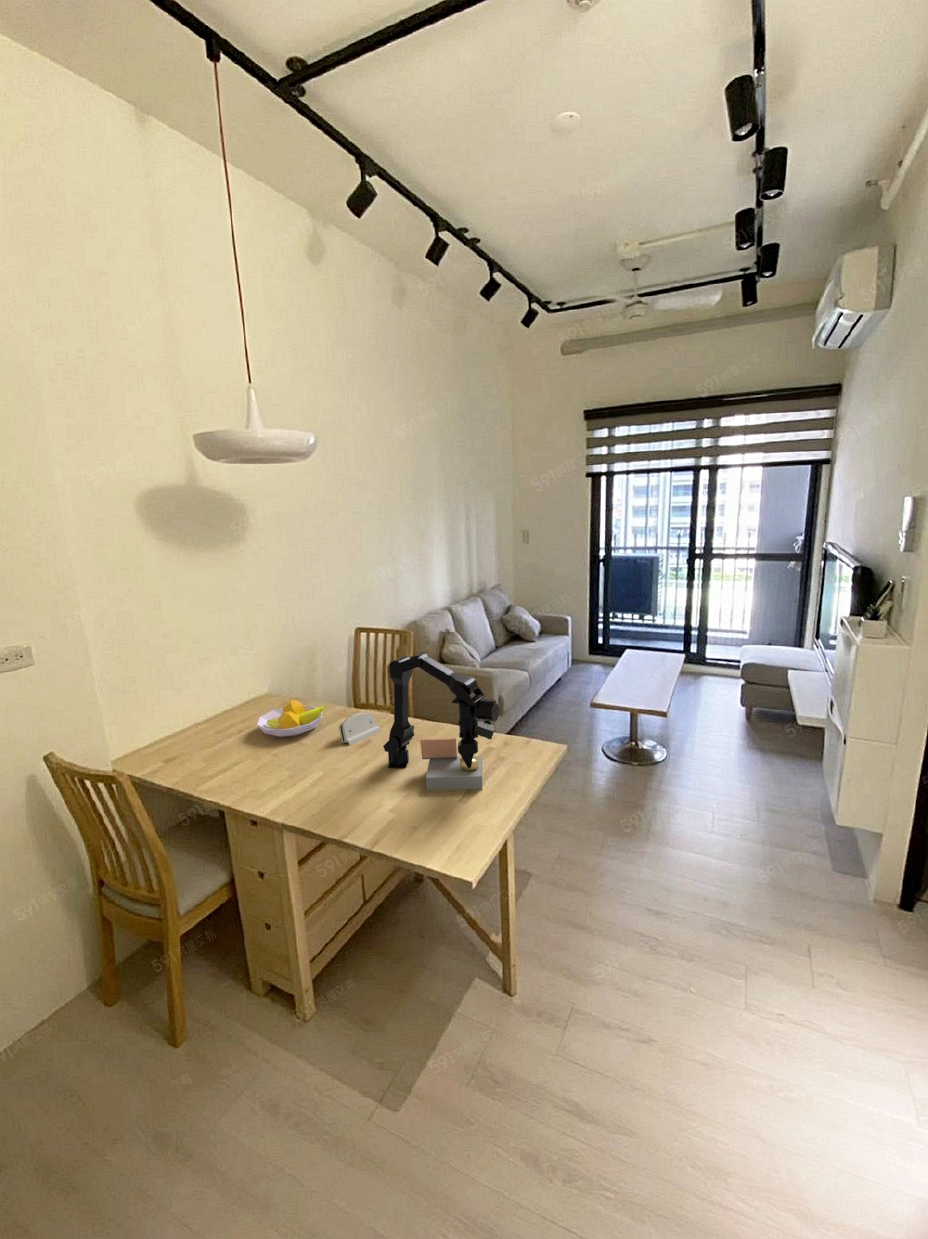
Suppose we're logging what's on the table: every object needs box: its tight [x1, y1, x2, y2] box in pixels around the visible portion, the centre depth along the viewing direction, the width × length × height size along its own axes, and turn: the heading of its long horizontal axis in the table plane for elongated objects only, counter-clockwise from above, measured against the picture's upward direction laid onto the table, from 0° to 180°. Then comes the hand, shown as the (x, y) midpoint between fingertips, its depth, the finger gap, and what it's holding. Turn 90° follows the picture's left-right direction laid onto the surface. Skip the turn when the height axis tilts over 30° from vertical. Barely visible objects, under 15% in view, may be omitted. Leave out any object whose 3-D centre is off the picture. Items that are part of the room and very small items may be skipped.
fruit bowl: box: [256, 699, 327, 737], centre depth 230 cm, size 28×27×11 cm
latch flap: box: [419, 737, 458, 760], centre depth 187 cm, size 12×1×9 cm, turn 88°
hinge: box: [338, 712, 382, 746], centre depth 221 cm, size 17×5×10 cm, turn 140°
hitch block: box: [425, 755, 483, 791], centre depth 184 cm, size 18×14×4 cm
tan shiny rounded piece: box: [460, 755, 479, 772], centre depth 182 cm, size 6×6×7 cm
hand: (469, 761), depth 181 cm, fingers open, 9 cm apart
